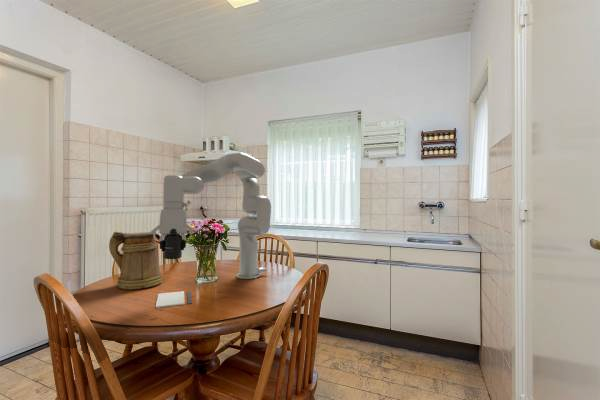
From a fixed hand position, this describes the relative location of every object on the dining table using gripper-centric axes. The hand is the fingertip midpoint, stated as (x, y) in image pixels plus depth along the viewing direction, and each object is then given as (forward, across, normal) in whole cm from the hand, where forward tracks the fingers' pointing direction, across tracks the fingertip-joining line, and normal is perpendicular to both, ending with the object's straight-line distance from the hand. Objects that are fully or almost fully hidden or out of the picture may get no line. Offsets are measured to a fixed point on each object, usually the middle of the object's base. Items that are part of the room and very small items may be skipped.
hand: (172, 249), depth 119 cm
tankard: (+20, +16, -28) cm, 38 cm away
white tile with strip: (+20, -1, 0) cm, 20 cm away
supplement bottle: (+3, 0, 0) cm, 3 cm away
